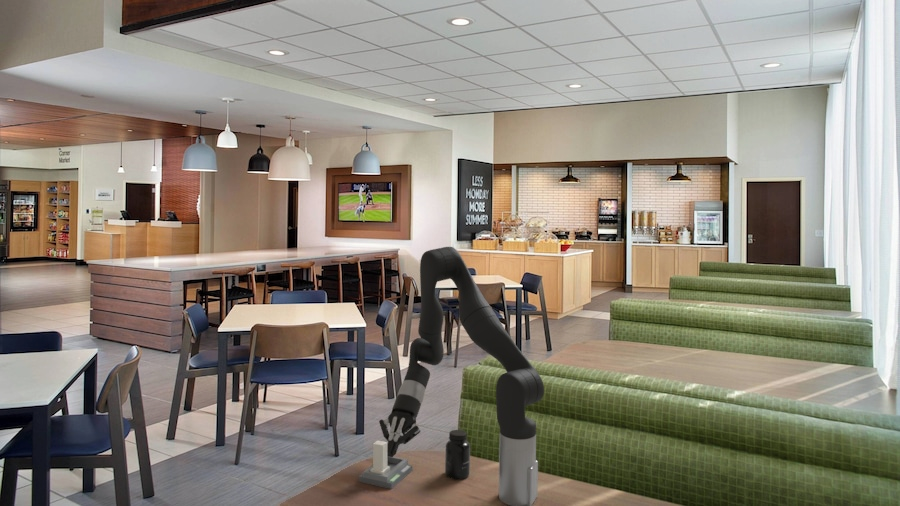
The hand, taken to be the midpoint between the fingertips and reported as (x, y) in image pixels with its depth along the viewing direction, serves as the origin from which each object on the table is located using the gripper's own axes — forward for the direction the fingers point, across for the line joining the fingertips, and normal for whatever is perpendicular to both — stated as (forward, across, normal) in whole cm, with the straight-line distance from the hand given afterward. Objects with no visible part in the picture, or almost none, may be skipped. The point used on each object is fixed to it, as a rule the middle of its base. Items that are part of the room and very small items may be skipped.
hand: (389, 455), depth 169 cm
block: (+6, 0, -1) cm, 6 cm away
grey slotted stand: (+5, 0, +2) cm, 5 cm away
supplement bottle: (-1, +18, +8) cm, 20 cm away
